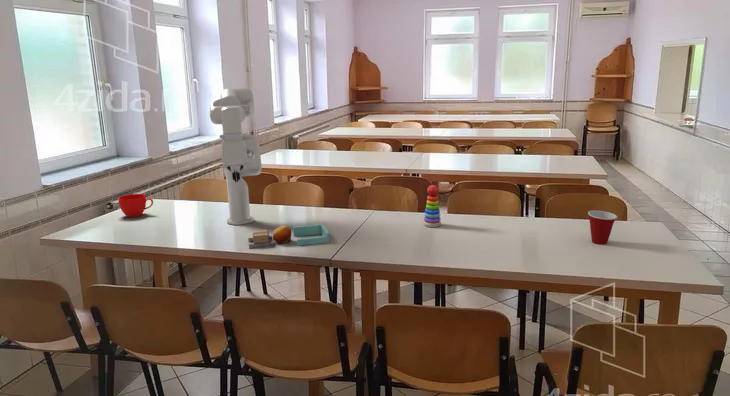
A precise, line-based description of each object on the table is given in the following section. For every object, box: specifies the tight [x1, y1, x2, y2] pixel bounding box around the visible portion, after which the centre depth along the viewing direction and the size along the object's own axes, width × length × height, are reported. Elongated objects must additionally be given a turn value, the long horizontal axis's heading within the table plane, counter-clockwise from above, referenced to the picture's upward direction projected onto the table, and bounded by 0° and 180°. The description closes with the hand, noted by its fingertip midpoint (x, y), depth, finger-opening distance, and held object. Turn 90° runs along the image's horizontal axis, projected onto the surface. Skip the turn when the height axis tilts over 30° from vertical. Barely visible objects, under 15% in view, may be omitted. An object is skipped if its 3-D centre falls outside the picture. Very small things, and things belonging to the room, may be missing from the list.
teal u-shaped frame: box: [292, 223, 330, 246], centre depth 230 cm, size 14×13×4 cm
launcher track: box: [248, 235, 275, 249], centre depth 225 cm, size 10×10×2 cm
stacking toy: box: [423, 184, 442, 228], centre depth 243 cm, size 8×8×19 cm
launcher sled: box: [252, 229, 271, 244], centre depth 225 cm, size 7×7×4 cm
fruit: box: [272, 225, 292, 244], centre depth 227 cm, size 8×8×8 cm
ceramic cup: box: [118, 193, 154, 218], centre depth 275 cm, size 13×17×10 cm
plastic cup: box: [587, 210, 618, 245], centre depth 214 cm, size 11×11×12 cm
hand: (236, 181), depth 224 cm, fingers closed
